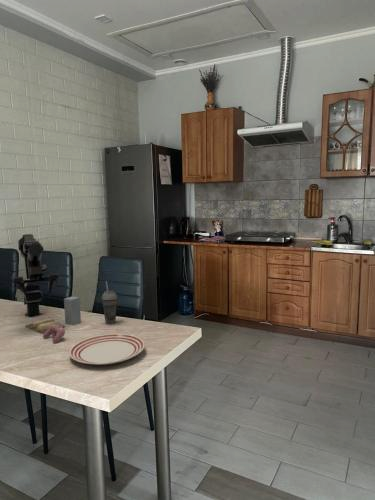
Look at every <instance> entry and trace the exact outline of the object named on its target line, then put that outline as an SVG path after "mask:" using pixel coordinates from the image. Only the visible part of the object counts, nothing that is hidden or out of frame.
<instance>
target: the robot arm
mask: <svg viewBox="0 0 375 500" xmlns="http://www.w3.org/2000/svg"><path fill="white" fill-rule="evenodd" d="M17 242H18V243H17V244H18V245H17V246H18V247H17V248H18V251H19V252H20V253H19V255H21V257H22V258H23V260H24V267H25V268H24V269H25V277H26V278H24V277H23V276H14V277H13V278H12V284H13V285H12V286H13V287H12V288H14V289H15V288H16V289H17V290H20V292H21V293H22V295H23V296H22V301H23V305H26V313H24V316H27V317H30V318H31V317H32V318H33V317H35V316H40V315H43V312H40V304H41V303H43V302H44V298H43V297H44V293H43V291H42V290H41V288H40V285H39V284H38V283H46V282H47V283H48V285H47V287H48V288H47V289H48V291H47V292H48V293H47V295H48V298H50V297H51V293H52V289H53V287H54V286H56V284H58V283H59V280H60V277H59V274H58V273H50V274H48V276H45V277H44V273H48V266H47V264H42V261H41V260H42V256H43V251H45V250H44V247H43V245H42V243H40V241H39V240H36V238H35V237H34V234H31V233H30V234H28V233H27V234H23V235H22V236H21V238H20V239H19V240H18V241H17Z"/></svg>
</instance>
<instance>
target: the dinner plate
mask: <svg viewBox="0 0 375 500" xmlns="http://www.w3.org/2000/svg"><path fill="white" fill-rule="evenodd" d="M145 347H146V344H145V341H144V340H143V339H142V338H140V337H138V336H136V335H134V334H133V335H132V334H126V333H125V334H124V333H107V334H100V335H95V336H94V335H93V336H91V337H89V338H84V339H83V340H80V341H79V342H77V343H75V344H74V345H73V346H71V347H70V349H69V352H68V354H69V357H70V358H71V359H72V360H73V361H75V362H78V363H80V364H81V363H82V364H87V365H97V366H99V365H101V366H102V365H112V364H116V363H117V364H118V363H122V362H125V361H127V360H130V359H133V358H135V357H136V356H138V355H139V354H140V353H142V352H143V351H144V350H145Z"/></svg>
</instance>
